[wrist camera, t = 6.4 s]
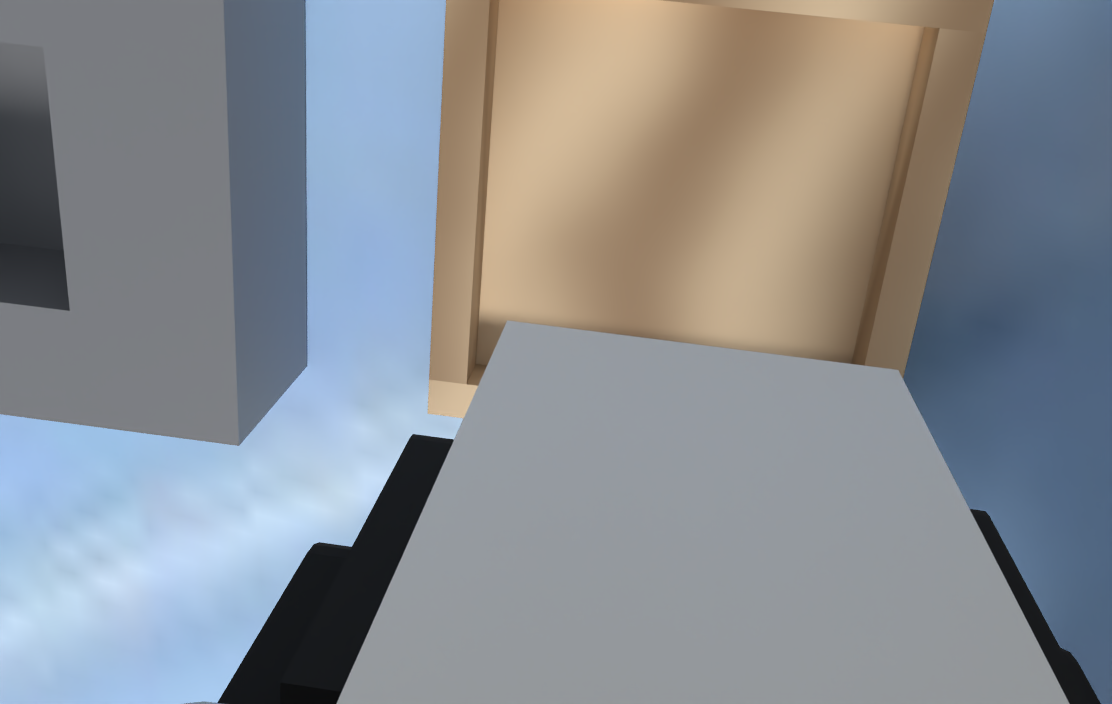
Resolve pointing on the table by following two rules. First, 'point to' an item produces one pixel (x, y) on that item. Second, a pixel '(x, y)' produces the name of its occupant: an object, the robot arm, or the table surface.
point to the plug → (694, 542)
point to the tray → (695, 173)
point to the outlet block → (152, 212)
